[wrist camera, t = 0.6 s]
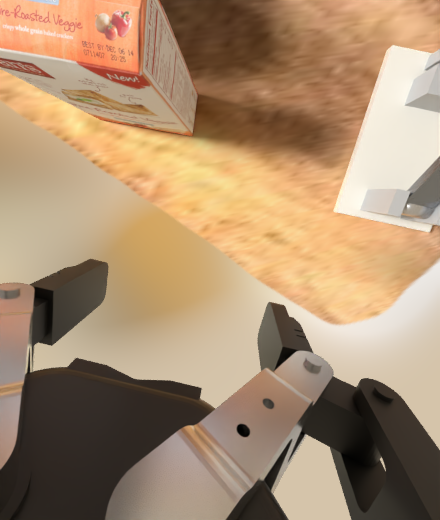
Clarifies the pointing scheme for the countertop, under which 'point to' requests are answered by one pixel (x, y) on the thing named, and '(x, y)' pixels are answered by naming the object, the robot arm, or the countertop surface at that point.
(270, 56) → the countertop surface
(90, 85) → the cracker box
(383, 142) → the base
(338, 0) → the countertop surface
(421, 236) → the countertop surface
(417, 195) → the clamp lever
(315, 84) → the countertop surface
